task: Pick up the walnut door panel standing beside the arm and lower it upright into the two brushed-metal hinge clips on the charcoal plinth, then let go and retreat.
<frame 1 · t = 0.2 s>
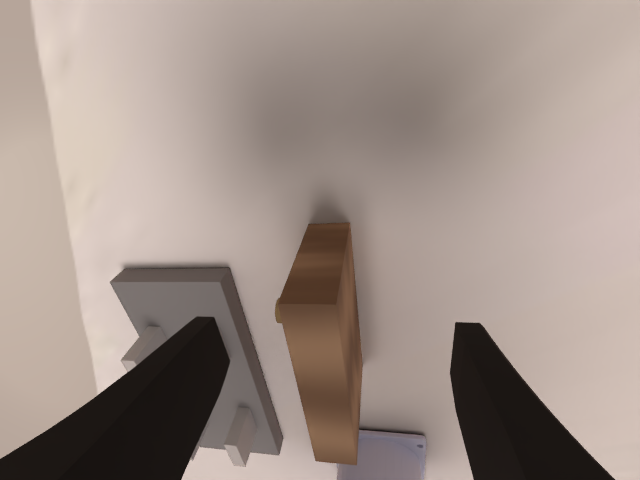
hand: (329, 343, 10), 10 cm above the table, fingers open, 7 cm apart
door panel: (339, 302, 22), on the table
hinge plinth: (215, 366, 28), on the table
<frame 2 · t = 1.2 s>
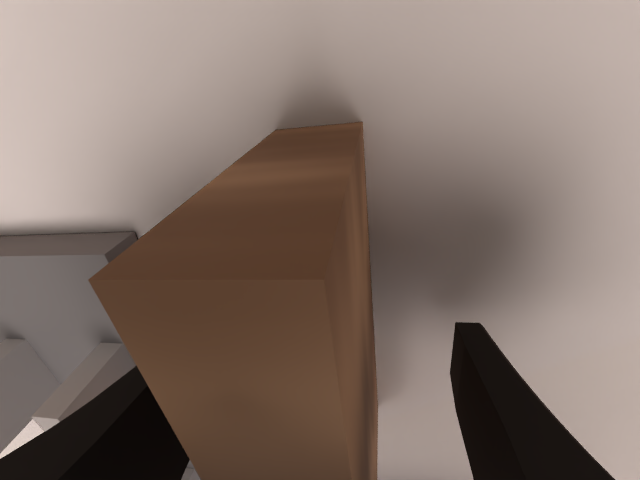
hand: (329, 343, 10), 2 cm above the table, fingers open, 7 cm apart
door panel: (338, 297, 12), on the table
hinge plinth: (142, 401, 17), on the table
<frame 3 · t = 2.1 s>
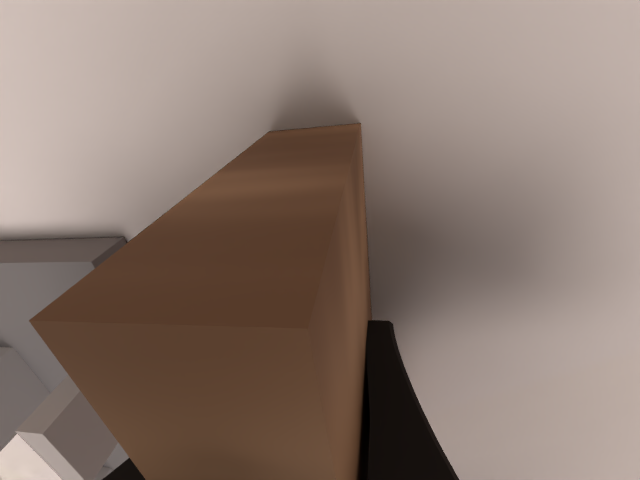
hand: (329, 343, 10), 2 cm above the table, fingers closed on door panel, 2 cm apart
door panel: (335, 306, 11), on the table, touching gripper
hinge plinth: (136, 408, 17), on the table
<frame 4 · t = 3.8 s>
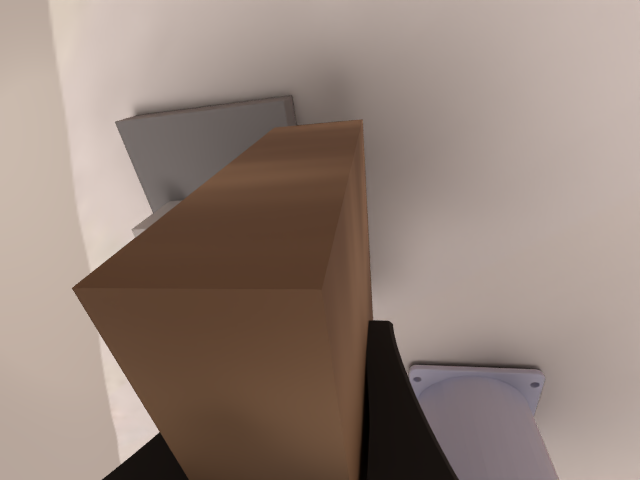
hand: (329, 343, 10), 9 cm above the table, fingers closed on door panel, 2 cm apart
door panel: (337, 298, 12), point 6 cm above the table, touching gripper
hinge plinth: (257, 278, 20), on the table
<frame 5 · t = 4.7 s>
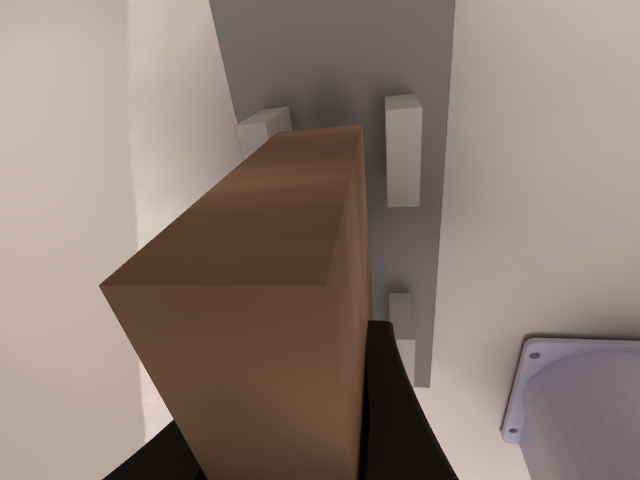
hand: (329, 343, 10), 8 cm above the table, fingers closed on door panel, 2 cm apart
door panel: (338, 297, 12), point 5 cm above the table, touching gripper
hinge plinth: (350, 226, 17), on the table
when the fingers open (4 cm above the table, at t = 5.6 s): door panel stays where it is, resting on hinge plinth.
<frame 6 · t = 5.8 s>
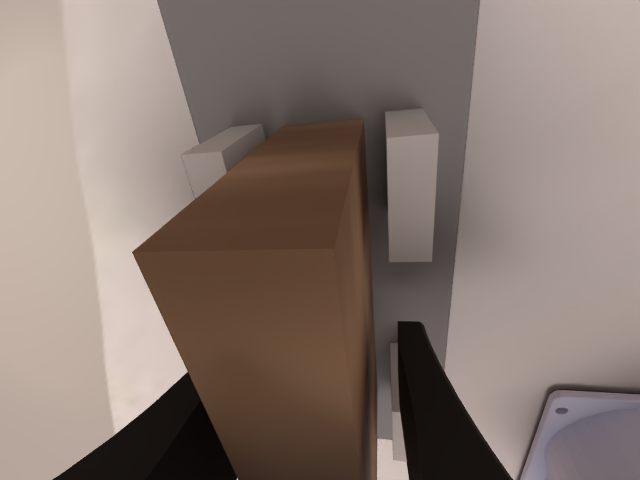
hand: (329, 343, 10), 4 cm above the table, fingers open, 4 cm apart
door panel: (340, 286, 13), point 1 cm above the table, touching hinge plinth
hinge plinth: (343, 261, 14), on the table
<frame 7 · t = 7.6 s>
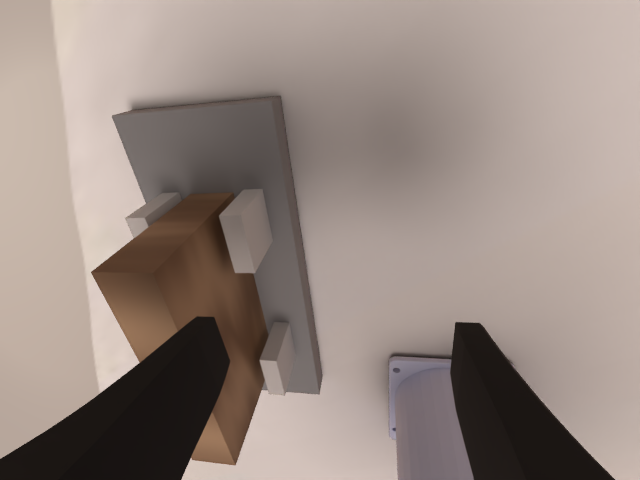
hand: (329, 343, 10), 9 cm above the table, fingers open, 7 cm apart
door panel: (237, 285, 20), point 1 cm above the table, touching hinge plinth
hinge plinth: (245, 269, 21), on the table
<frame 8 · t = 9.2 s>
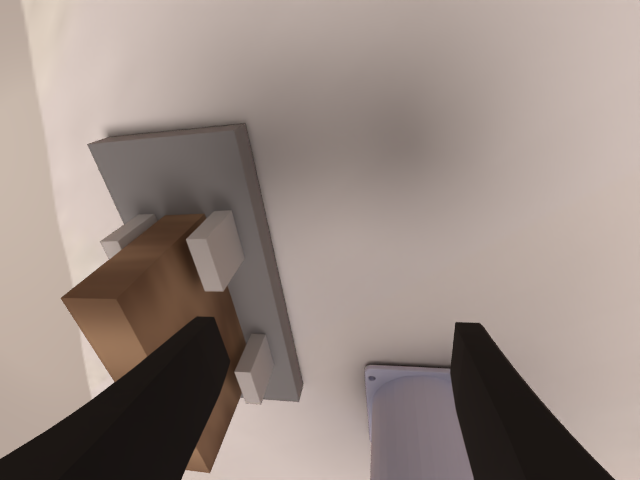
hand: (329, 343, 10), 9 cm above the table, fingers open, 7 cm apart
door panel: (214, 299, 21), point 1 cm above the table, touching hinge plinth
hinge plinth: (223, 283, 22), on the table
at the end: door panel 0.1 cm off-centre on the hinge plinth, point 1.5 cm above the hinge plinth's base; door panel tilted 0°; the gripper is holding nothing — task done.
